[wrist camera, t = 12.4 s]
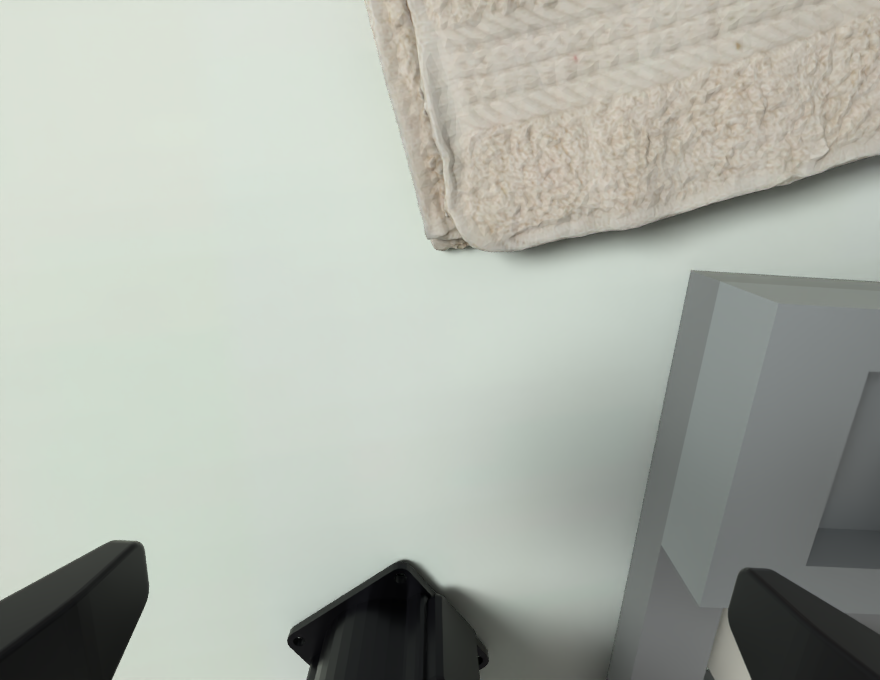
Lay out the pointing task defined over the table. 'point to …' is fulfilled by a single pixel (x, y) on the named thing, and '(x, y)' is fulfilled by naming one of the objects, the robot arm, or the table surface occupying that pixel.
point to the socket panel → (757, 464)
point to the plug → (726, 654)
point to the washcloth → (619, 107)
